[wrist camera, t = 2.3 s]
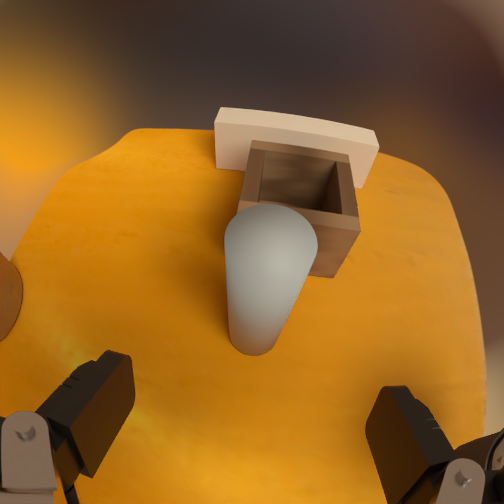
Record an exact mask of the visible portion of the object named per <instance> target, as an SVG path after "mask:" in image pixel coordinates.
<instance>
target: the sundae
mask: <svg viewBox="0 0 504 504" xmlns="http://www.w3.org/2000/svg"><path fill="white" fill-rule="evenodd" d="M454 451H455V453H456V455H457V456H458V458H459V459H461V458H465V459H470V460H473V461H475V462H476V463H478V464H479V465H480V466H481V468H482V469H483V471H484V470H500V469H501V468H502V467H503V465H504V428H503V429H502V430H501V431H500V432H497V433H494V434H491V435H488V436H485V437H482V438H478V439H475V440H473V441H471V442H468V443H466V444H463V445H461V446H459V447H458V448H456V449H455V450H454Z"/></svg>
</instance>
